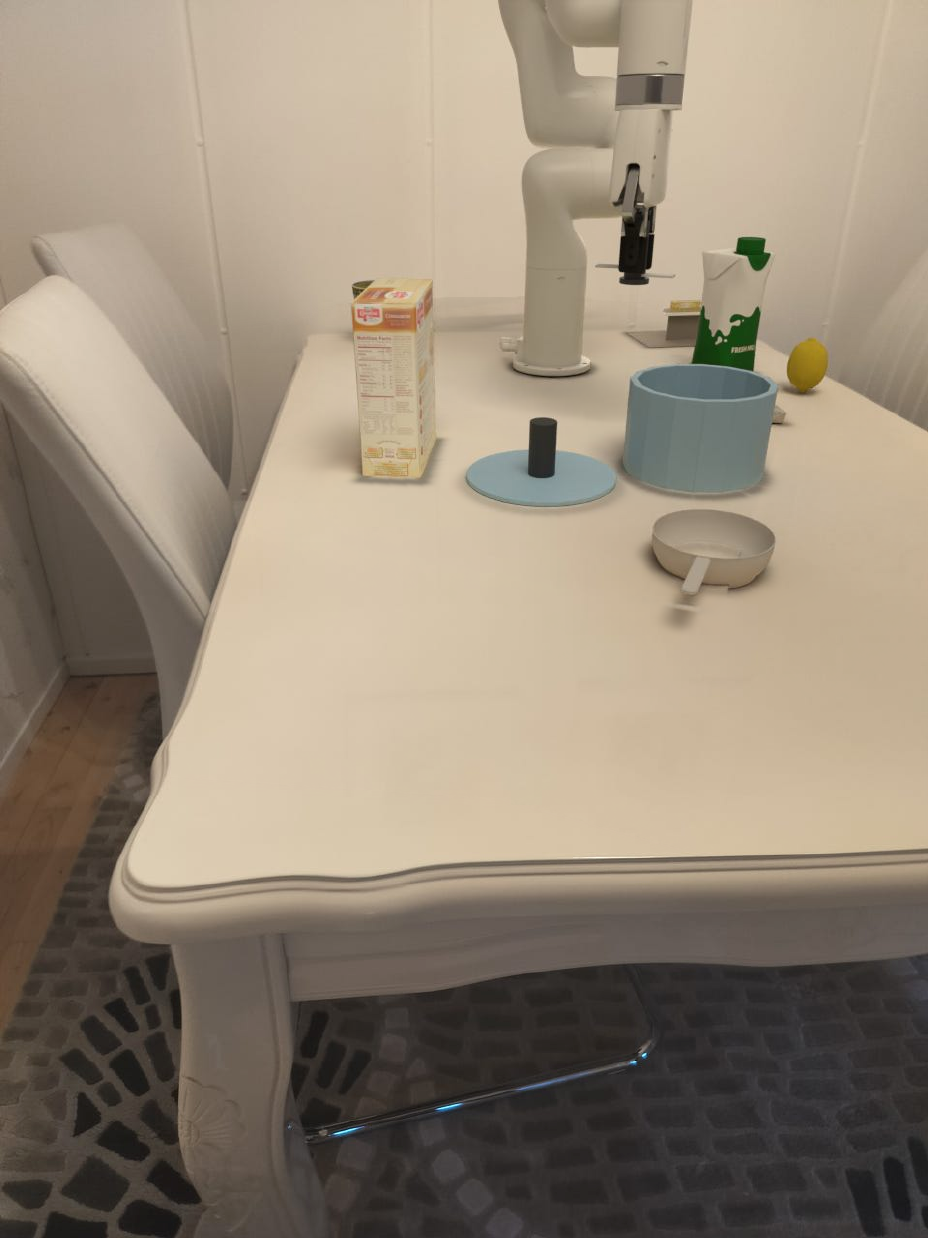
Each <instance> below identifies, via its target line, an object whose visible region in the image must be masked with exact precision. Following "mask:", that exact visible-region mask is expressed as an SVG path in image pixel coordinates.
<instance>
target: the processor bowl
mask: <svg viewBox="0 0 928 1238" xmlns="http://www.w3.org/2000/svg"><path fill="white" fill-rule="evenodd" d="M779 387H780V385H779V384H778V383H777V382H775V381H774V380H773V379H772V378H771V377H769V376H766V375H764V374H761V373H759V372H755V371H754V372H753V371H748V370H743V369H738V368H733V367H728V366H717V365H706V364H691V363H673V364H663V365H654V366H650V367H647V368H643V369H640V370H636V371H635V372H634V373H633V374H632V375H631V377H630V378H629V389H628V399H627V411H626V420H625V432H624V443H623V455H622V465H623V467H624V470H625V472H626V473H627V474H628V475H630V476H632V477H633V478H635V479H637V480H638V481H640V482H642V483H646V484H649V485H651V486H654V487H658V488H661V489H665V490H671V491H679V492H686V493H692V494H693V493H695V494H697V493H698V494H699V493H700V494H704V493H705V494H709V493H710V494H711V493H713V494H717V493H718V494H719V493H720V494H723V493H728V492H735V491H740V490H746V489H748V488H750V487H752V486H754V485H756V484H758V483H760V482H761V481H762V478H763V475H764V472H765V466H766V460H767V454H768V449H769V443H770V437H771V432H772V425H773V423H772V421H773V415H774V409H775V405H776V403H777V397H778V391H779Z"/></svg>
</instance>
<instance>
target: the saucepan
mask: <svg viewBox="0 0 928 1238" xmlns="http://www.w3.org/2000/svg"><path fill="white" fill-rule="evenodd" d="M651 543H652V549H653V552H654V555H655V557H656V559H657V560H658V562H659V564H660V565H661V567H663V568H664V570H666V571H667V572H668V573H670V574H672V575H674V576H676V577H677V578H680V579H683V580H684V581H683V583H682V585H681V586H680V591H681V593H682V594H685V595H689V596H694V595H696V594H698V592H699V590H700V587H701V585H702V584H705V585H711V586H712V585H713V586H714V585H715V586H728V587H727V589H735V588H741V587H743V586H746V585H749V584H750V583H752V582H753V581H754V580H755V579H756V577H757V576H758V575H759V574H760V573H762V572H763V571H764V569H765V568H766V567H767V566H768V565H769V563H770V561H771V560H772V557H773V554H774V552H775V546H776V544H777V536H776V533H775V532H774V531H773V530H772V529H771V528H770V527H768V525H766V524H764V523H763V522H761V521H759V520H757V519H754V518H753V517H750V516H748V515H747V516H746V515H743V514H741V513H736V512H733V511H726V510H719V509H710V508H707V509H706V508H692V509H682V510H677V511H672V512H667V513H666V514H664V515H661V516H659V518H657V519H656V520H655V521H654V522H653V524H652V531H651ZM691 543H706V544H716V545H722V546H726V547H730V548H733V549H735V550H739V551H740V552H739V556H738V557H715V556H714V557H712V556H705V555H699V554H694V553H691V552H687V551H684V550H682V549H678V548H676V547H674V546H678V545H684V544H691Z"/></svg>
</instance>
